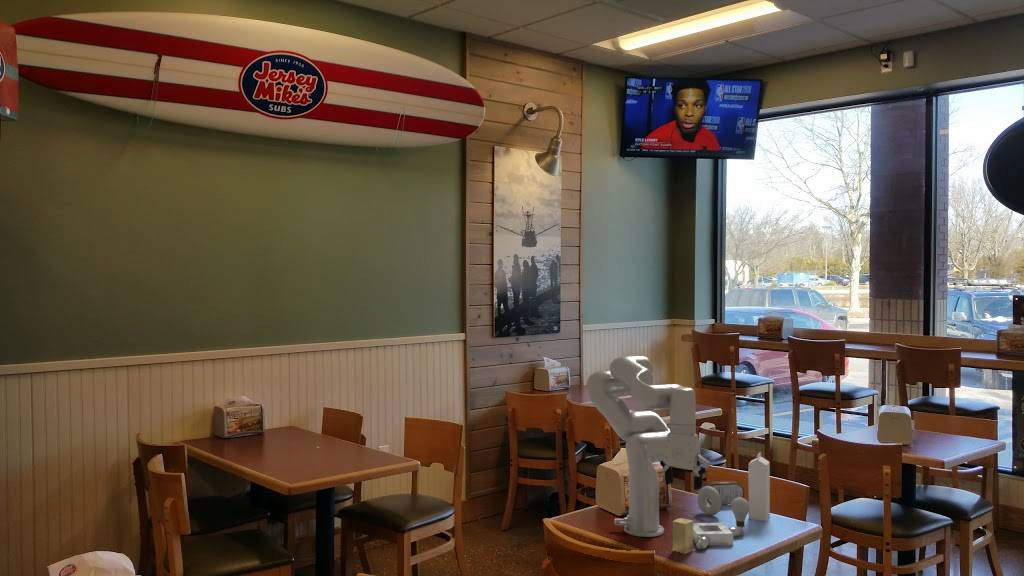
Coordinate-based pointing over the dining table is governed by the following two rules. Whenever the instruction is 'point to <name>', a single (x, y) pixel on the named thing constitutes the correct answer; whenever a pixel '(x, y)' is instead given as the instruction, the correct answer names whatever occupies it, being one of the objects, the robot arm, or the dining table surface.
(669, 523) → the dining table surface
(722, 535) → the white square socket base
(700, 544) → the shaft left
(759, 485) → the milk
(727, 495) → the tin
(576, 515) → the dining table surface
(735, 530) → the shaft right
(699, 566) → the dining table surface
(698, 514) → the dining table surface
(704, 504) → the donut
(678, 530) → the block
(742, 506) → the light bulb
